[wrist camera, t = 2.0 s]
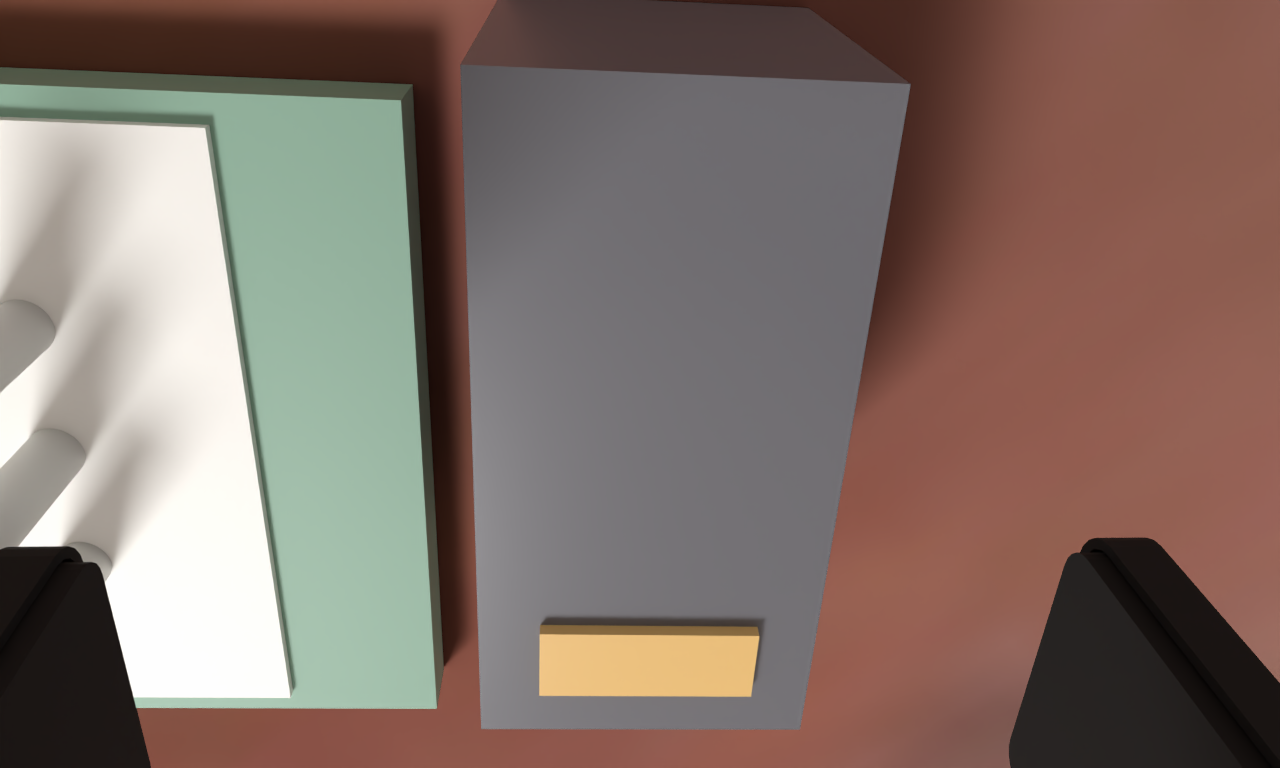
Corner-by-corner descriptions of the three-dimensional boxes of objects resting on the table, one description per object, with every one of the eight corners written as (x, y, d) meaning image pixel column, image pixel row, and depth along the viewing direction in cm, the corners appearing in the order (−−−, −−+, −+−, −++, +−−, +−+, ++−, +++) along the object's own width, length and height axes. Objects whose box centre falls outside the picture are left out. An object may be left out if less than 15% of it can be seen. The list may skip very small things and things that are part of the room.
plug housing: (808, 7, 17) (915, 88, 11) (747, 509, 21) (802, 739, 16) (502, -7, 16) (458, 67, 11) (507, 506, 21) (480, 738, 16)
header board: (413, 84, 17) (343, 178, 12) (444, 668, 23) (406, 884, 18) (-416, 49, 16) (-837, 136, 11) (-157, 665, 22) (-360, 890, 17)
